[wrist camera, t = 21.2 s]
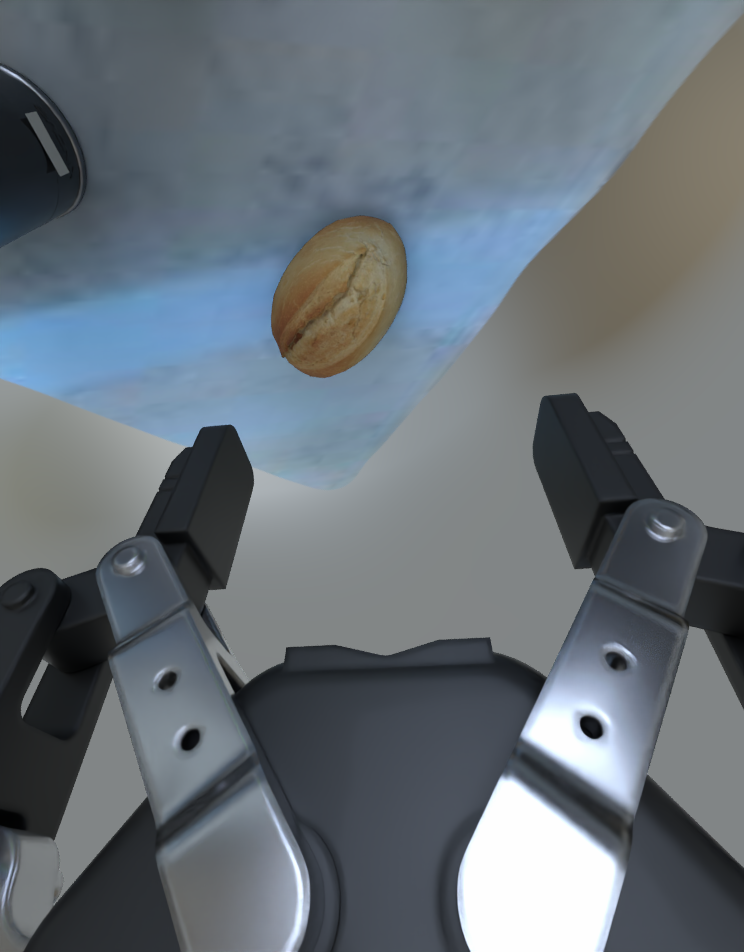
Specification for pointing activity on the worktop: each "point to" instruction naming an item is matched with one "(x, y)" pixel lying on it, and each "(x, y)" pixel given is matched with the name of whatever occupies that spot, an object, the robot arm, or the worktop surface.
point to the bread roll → (339, 295)
